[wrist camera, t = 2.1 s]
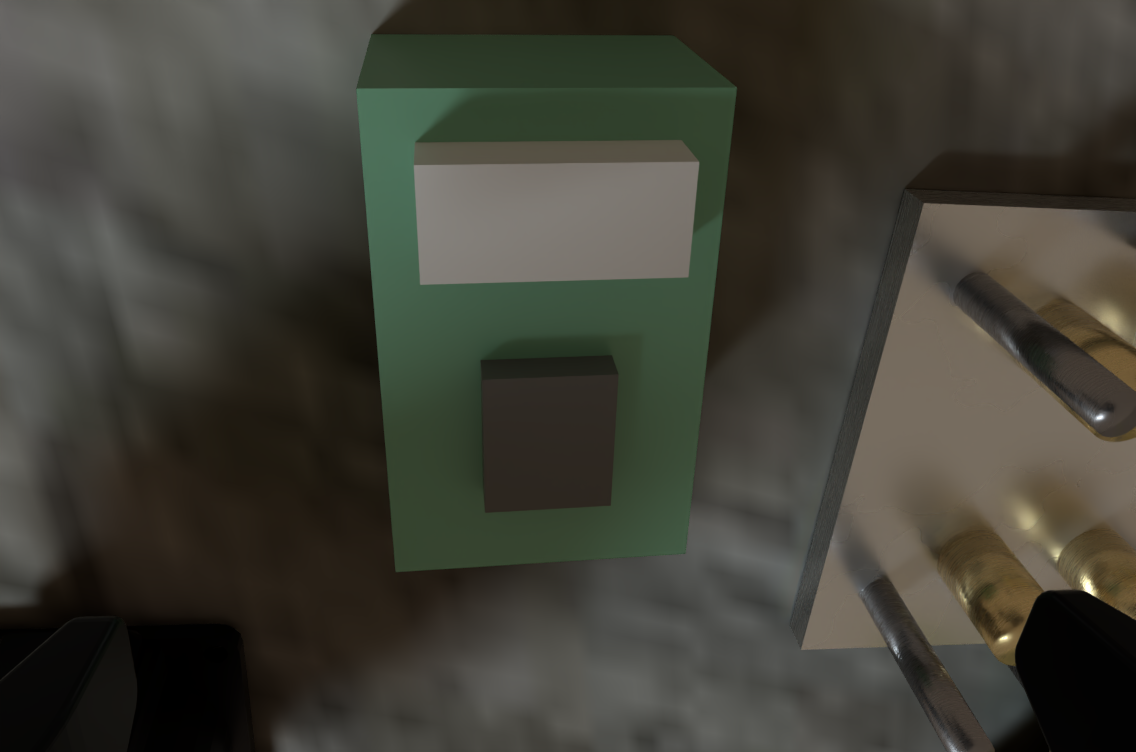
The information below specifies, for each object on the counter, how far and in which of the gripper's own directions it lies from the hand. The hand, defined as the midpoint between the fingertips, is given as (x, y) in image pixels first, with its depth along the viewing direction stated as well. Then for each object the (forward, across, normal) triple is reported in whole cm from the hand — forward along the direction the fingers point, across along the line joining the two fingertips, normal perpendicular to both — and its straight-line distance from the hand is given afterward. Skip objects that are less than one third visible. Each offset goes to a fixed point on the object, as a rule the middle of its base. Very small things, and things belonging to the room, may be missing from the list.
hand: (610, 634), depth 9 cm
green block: (+10, 0, 0) cm, 10 cm away
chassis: (+10, -12, +4) cm, 16 cm away
